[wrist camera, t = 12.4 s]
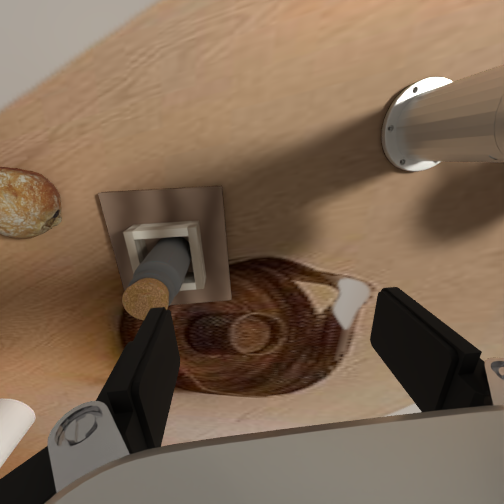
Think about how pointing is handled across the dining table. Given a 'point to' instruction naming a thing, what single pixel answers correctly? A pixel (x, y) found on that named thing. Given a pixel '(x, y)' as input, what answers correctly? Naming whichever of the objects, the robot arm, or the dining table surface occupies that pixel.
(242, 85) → the dining table surface
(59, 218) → the bread roll
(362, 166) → the dining table surface
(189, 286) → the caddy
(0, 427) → the cylinder container
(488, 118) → the robot arm
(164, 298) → the bottle
